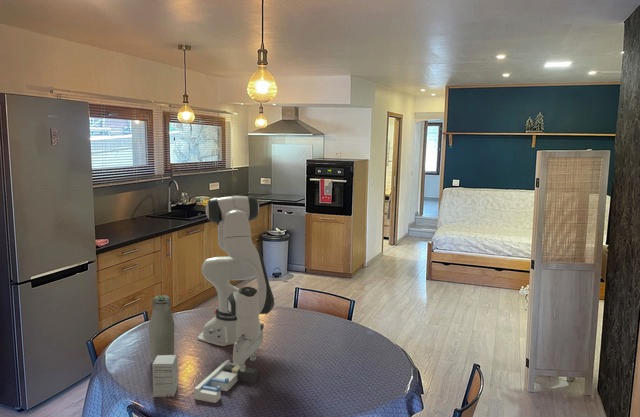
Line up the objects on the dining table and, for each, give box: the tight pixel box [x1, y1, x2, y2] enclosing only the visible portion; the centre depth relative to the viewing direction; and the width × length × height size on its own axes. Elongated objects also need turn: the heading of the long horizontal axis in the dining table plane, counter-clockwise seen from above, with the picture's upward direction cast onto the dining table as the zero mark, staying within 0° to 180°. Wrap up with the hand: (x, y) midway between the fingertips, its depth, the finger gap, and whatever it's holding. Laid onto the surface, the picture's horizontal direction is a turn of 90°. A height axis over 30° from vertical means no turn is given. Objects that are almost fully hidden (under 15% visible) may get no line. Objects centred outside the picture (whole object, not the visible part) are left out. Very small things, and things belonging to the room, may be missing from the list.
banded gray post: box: [225, 365, 259, 384], centre depth 185 cm, size 12×4×4 cm, turn 73°
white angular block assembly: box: [193, 359, 247, 404], centre depth 180 cm, size 8×24×5 cm, turn 163°
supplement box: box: [151, 354, 179, 398], centre depth 174 cm, size 7×7×13 cm
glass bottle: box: [148, 294, 175, 362], centre depth 198 cm, size 10×10×28 cm
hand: (248, 365), depth 183 cm, fingers open, 8 cm apart
